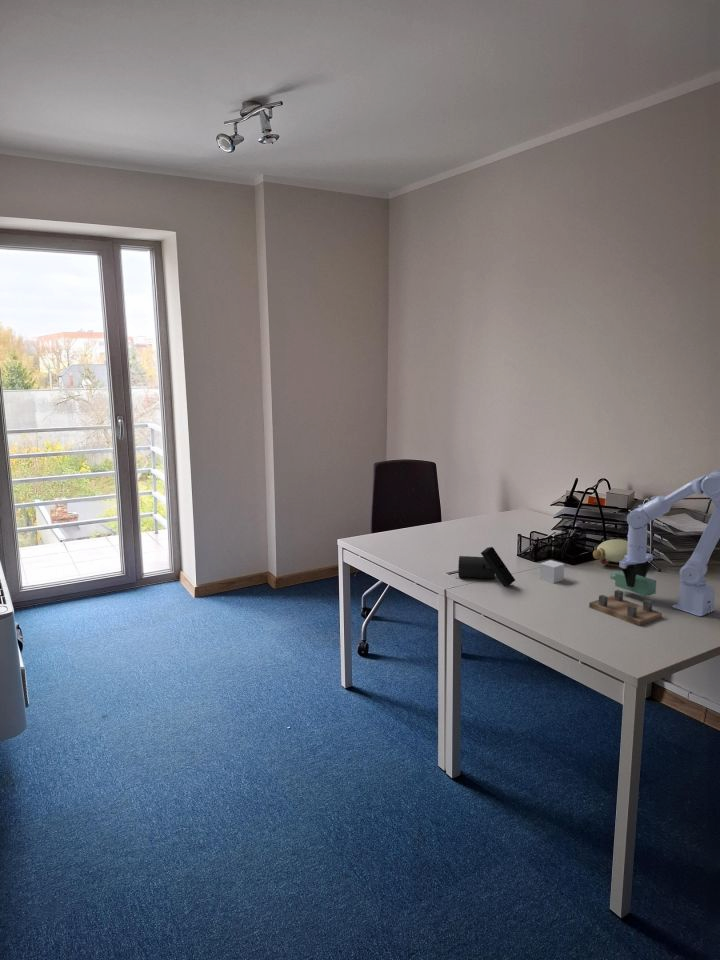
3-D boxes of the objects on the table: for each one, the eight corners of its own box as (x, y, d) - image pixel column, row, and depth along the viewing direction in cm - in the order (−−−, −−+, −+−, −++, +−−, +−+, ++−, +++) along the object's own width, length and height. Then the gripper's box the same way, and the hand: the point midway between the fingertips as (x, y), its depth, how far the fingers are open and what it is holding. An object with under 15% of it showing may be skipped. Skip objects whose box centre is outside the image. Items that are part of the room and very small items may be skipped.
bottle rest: (661, 617, 199) (662, 603, 198) (639, 626, 193) (639, 611, 192) (611, 599, 214) (612, 586, 213) (589, 607, 208) (589, 593, 207)
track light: (445, 564, 242) (468, 561, 223) (473, 542, 247) (497, 537, 228) (468, 598, 242) (493, 598, 223) (496, 575, 247) (522, 574, 228)
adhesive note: (563, 579, 234) (564, 563, 233) (553, 583, 230) (554, 567, 229) (549, 575, 238) (550, 559, 237) (539, 579, 235) (540, 563, 234)
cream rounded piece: (648, 567, 244) (607, 574, 239) (621, 555, 259) (581, 562, 254) (649, 543, 242) (607, 550, 238) (621, 532, 257) (581, 539, 253)
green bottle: (655, 593, 210) (656, 580, 210) (647, 596, 208) (647, 583, 207) (615, 580, 223) (616, 568, 222) (607, 583, 221) (608, 571, 220)
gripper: (640, 538, 219) (638, 577, 221) (612, 546, 211) (610, 585, 214) (659, 543, 213) (657, 582, 215) (631, 551, 205) (629, 592, 208)
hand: (635, 584), depth 214 cm, fingers closed on green bottle, 4 cm apart
